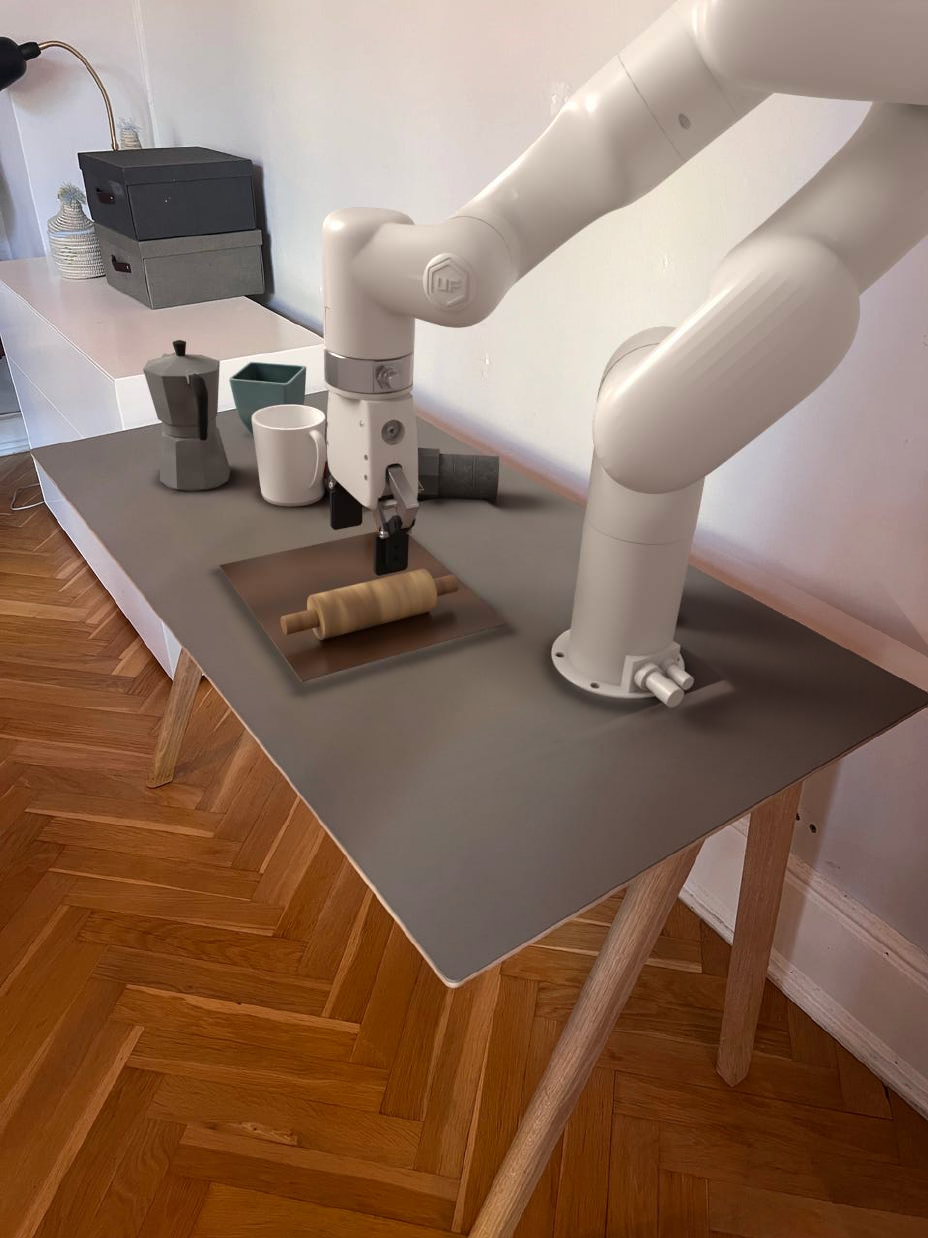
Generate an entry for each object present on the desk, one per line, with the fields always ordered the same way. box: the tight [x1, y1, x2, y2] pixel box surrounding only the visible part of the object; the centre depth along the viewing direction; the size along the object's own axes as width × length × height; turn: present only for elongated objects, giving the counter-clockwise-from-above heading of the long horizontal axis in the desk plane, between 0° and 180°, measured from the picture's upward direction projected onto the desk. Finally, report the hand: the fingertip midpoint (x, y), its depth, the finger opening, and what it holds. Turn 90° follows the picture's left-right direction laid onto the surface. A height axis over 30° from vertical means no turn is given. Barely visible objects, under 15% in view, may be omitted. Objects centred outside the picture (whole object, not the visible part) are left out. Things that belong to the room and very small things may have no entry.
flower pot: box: [228, 361, 307, 436], centre depth 133 cm, size 9×9×9 cm
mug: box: [252, 404, 327, 508], centre depth 114 cm, size 11×9×10 cm
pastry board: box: [218, 530, 508, 683], centre depth 95 cm, size 24×22×1 cm
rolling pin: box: [280, 569, 459, 640], centre depth 89 cm, size 4×18×4 cm, turn 120°
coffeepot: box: [142, 339, 231, 492], centre depth 115 cm, size 15×9×18 cm, turn 29°
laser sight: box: [324, 447, 500, 502], centre depth 116 cm, size 10×22×10 cm, turn 89°
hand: (367, 548), depth 86 cm, fingers open, 9 cm apart
